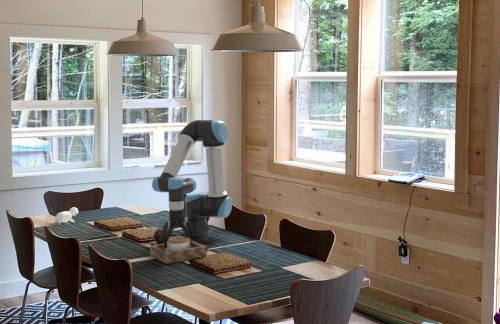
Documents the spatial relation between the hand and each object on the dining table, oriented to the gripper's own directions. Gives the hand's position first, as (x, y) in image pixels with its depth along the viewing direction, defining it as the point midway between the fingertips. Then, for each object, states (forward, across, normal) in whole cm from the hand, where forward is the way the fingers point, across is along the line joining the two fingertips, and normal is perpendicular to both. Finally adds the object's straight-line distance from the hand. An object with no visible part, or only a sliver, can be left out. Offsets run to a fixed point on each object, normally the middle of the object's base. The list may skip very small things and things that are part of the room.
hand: (177, 252), depth 363 cm
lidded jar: (+1, 0, 0) cm, 1 cm away
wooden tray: (+2, 0, 0) cm, 2 cm away
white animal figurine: (+2, -18, +109) cm, 111 cm away
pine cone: (+2, +4, +19) cm, 20 cm away
